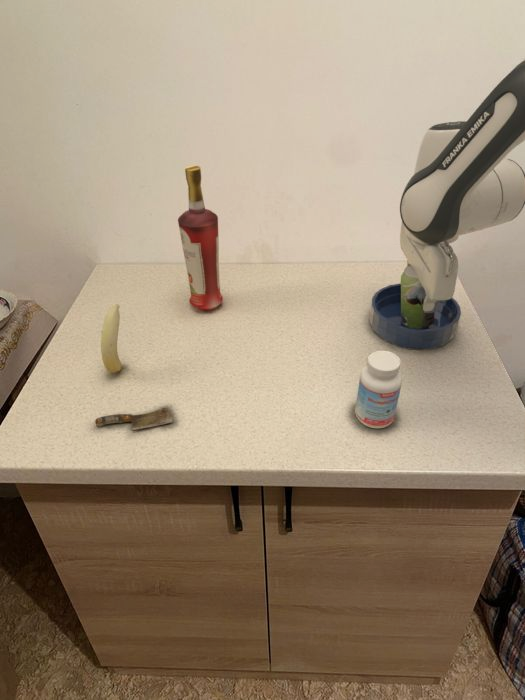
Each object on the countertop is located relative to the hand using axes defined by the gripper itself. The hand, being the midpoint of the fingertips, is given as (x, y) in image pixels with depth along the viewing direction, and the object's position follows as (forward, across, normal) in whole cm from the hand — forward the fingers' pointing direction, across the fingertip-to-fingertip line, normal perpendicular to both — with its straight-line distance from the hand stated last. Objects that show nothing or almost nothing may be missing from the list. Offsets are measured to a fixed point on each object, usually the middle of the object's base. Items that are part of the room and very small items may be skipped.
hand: (418, 294), depth 93 cm
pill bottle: (+7, -23, +13) cm, 27 cm away
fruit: (+7, -9, +55) cm, 56 cm away
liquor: (+7, +10, +40) cm, 42 cm away
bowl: (+7, 0, 0) cm, 7 cm away
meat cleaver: (+7, -22, +50) cm, 55 cm away
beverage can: (+6, 0, 0) cm, 7 cm away
